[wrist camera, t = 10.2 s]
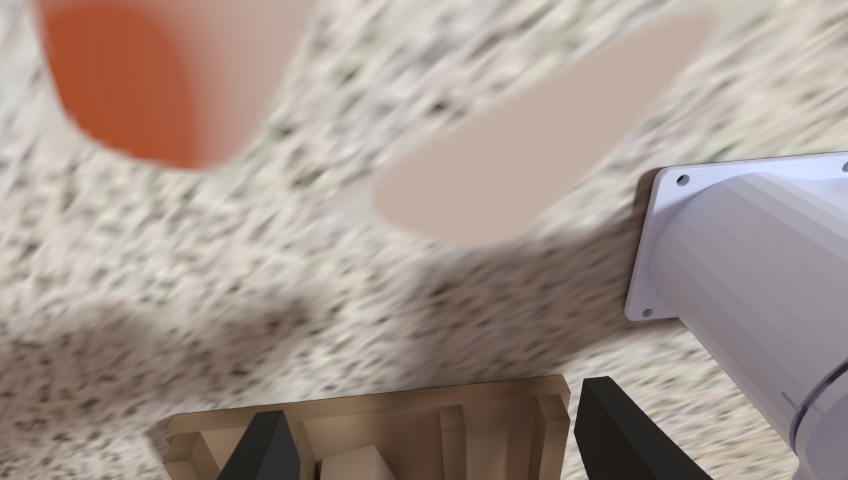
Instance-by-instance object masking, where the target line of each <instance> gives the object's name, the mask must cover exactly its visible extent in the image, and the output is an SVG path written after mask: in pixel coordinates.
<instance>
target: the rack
mask: <svg viewBox="0 0 848 480" xmlns="http://www.w3.org/2000/svg"><path fill="white" fill-rule="evenodd" d="M570 394H571V392H570V390H569V388H568V385H567V383H566V381H565V379H564V376H563V375H556V376H546V377H537V378H527V379H517V380H508V381H498V382H488V383H479V384H469V385H459V386H449V387H440V388H430V389H420V390H411V391H401V392H391V393H381V394H372V395H362V396H352V397H343V398H333V399H323V400H314V401H304V402H294V403H284V404H275V405H265V406H255V407H246V408H236V409H226V410H216V411H207V412H197V413H187V414H178V415H173V417H172V420H171V422H170V424H169V426H168V428H167V430H166V432H165V434H164V436H165V437H166V439H167V441H168V442H169V444H170V446H171V447H170V449H169V451H168V453H167V455H166V458H165V460H164V462H163V465H164V466H165V468H166V470H167V471H168V473H169V474H170V476H171V478H172V479H173V480H216V479H217V477H218V476H219V474H220V472H221V471H222V469H223V467H224V466H225V464H226V463H227V461H228V459H229V458H230V456H231V454H232V453H233V451H234V449H235V448H236V446H237V444H238V442H239V441H240V439H241V437H242V436H243V434H244V432H245V430H246V429H247V427H248V425H249V423H250V422H251V420H252V418H253V416H254V415H255V414H256V413H257V412H267V411H276V410H284V413H285V416H286V419H287V422H288V425H289V428H290V431H291V434H292V437H293V440H294V443H295V446H296V449H297V451H298V454H299V457H300V460H301V466H300V478H299V480H320V477H321V469H322V461H323V458H327V457H331V456H334V455H338V454H341V453H345V452H348V451H352V450H356V449H359V448H363V447H366V446H370V445H374V446H375V448H376V449H377V451H378V452H379V454H380V455H381V457H382V458H383V460H384V461H385V463H386V464H387V466H388V467H389V469H390V470H391V472H392V473H393V475H394V476H395V478H396V480H560V476H561V470H562V464H563V459H564V453H565V448H566V442H567V437H568V431H569V425H570V418H569V415H568V413H567V411H568V405H569V400H570Z"/></svg>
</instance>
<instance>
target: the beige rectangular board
mask: <svg viewBox="0 0 848 480" xmlns="http://www.w3.org/2000/svg"><path fill="white" fill-rule="evenodd" d="M320 480H396V478H395V476H394V475H393V473H392V472H391V470H390V469H389V467H388V466H387V464H386V463H385V461H384V460H383V458H382V457H381V455H380V454H379V452H378V451H377V449H376V448H375V446H374V445H370V446H366V447H363V448H359V449H356V450H352V451H348V452H345V453H341V454H338V455H334V456H331V457H327V458H323V461H322V469H321V477H320Z"/></svg>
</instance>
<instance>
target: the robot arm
mask: <svg viewBox="0 0 848 480" xmlns="http://www.w3.org/2000/svg"><path fill="white" fill-rule="evenodd" d="M845 163H846V164H845ZM844 164H845V165H844ZM843 165H844V166H843ZM681 175H684V177H683V179H682V180H681V181H679V182H677V179H678V178H679V177H680V176H681ZM646 309H647V310H646ZM645 310H646V311H645ZM643 311H644V312H643ZM624 314H625V315H626V317H627V318H628V319H629V320H631V321H641V320H651V319H661V318H672V317H679V319H680V320H681V321H682V322H683V323H684V324H685V326H686V327H687V328H688V329H689V330H690V331H691V333H692V334H693V335H694V336H695V337H696V338H697V340H698V341H699V342H700V343H701V344H702V345H703V347H704V348H705V349H706V350H707V351H708V352H709V354H710V355H711V356H712V357H713V358H714V360H715V361H716V362H717V363H718V364H719V365H720V367H721V368H722V369H723V370H724V371H725V372H726V374H727V375H728V376H729V377H730V378H731V379H732V381H733V382H734V383H735V384H736V385H737V386H738V388H739V389H740V390H741V391H742V392H743V393H744V395H745V396H746V397H747V398H748V399H749V400H750V402H751V403H752V404H753V405H754V406H755V407H756V409H757V410H758V411H759V412H760V413H761V414H762V416H763V417H764V418H765V419H766V420H767V422H768V423H769V424H770V425H771V426H772V427H773V429H774V430H775V431H776V432H777V433H778V434H779V436H780V437H781V438H782V439H783V440H784V441H785V443H786V444H787V445H788V446H789V447H790V448H791V450H792V451H793V452H794V453H795V454H796V455H797V457H798V458H799V461H800V464H799V467H798V469H797V471H796V472H795V474H794V475H793V477H792V479H793V480H848V152H836V153H825V154H813V155H801V156H790V157H778V158H766V159H755V160H743V161H731V162H720V163H708V164H696V165H685V166H673V167H667V168H664V169H662V170H661V171H659V172H658V174H657V175H656V177H655V179H654V183H653V188H652V192H651V196H650V201H649V205H648V209H647V214H646V218H645V222H644V227H643V231H642V235H641V240H640V244H639V248H638V253H637V257H636V261H635V265H634V270H633V274H632V278H631V283H630V287H629V291H628V296H627V300H626V304H625V309H624ZM574 435H575V438H576V441H577V445H578V448H579V451H580V454H581V458H582V461H583V464H584V467H585V470H586V473H587V476H588V478H589V480H713V479H712V478H711V477H710V476H709V475H708V474H707V473H706V472H705V471H703V470H702V469H701V468H700V467H699V466H698V465H697V464H696V463H695V462H694V461H693V460H692V459H691V458H690V457H689V456H688V455H687V454H686V453H684V452H683V451H682V450H681V449H680V448H679V447H678V446H677V445H676V444H675V443H674V442H673V441H672V440H671V439H670V438H669V437H668V436H667V435H666V434H665V433H664V432H663V431H662V430H661V429H660V428H659V427H658V426H657V425H656V424H655V423H654V422H653V421H652V420H651V419H650V418H649V417H648V416H647V415H646V414H645V413H644V412H643V411H642V410H641V409H640V408H639V407H638V406H637V405H636V404H635V403H634V401H633V400H632V399H631V398H630V397H629V396H628V395H627V394H626V393H625V392H624V391H623V390H622V389H621V388H620V387H619V386H618V385H617V384H616V383H615V382H614V381H613V379H611V378H610V377H609V376H605V377H595V378H585V379H584V380H583V385H582V391H581V396H580V401H579V406H578V412H577V417H576V422H575V427H574ZM300 466H301V460H300V457H299V454H298V451H297V449H296V446H295V443H294V440H293V437H292V434H291V431H290V428H289V425H288V422H287V419H286V416H285V413H284V410H276V411H267V412H257V413H256V414H255V415H254V416H253V418H252V420H251V422H250V423H249V425H248V427H247V429H246V430H245V432H244V434H243V436H242V437H241V439H240V441H239V442H238V444H237V446H236V448H235V449H234V451H233V453H232V454H231V456H230V458H229V459H228V461H227V463H226V464H225V466H224V467H223V469H222V471H221V472H220V474H219V476H218V477H217V479H216V480H299V478H300Z"/></svg>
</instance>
